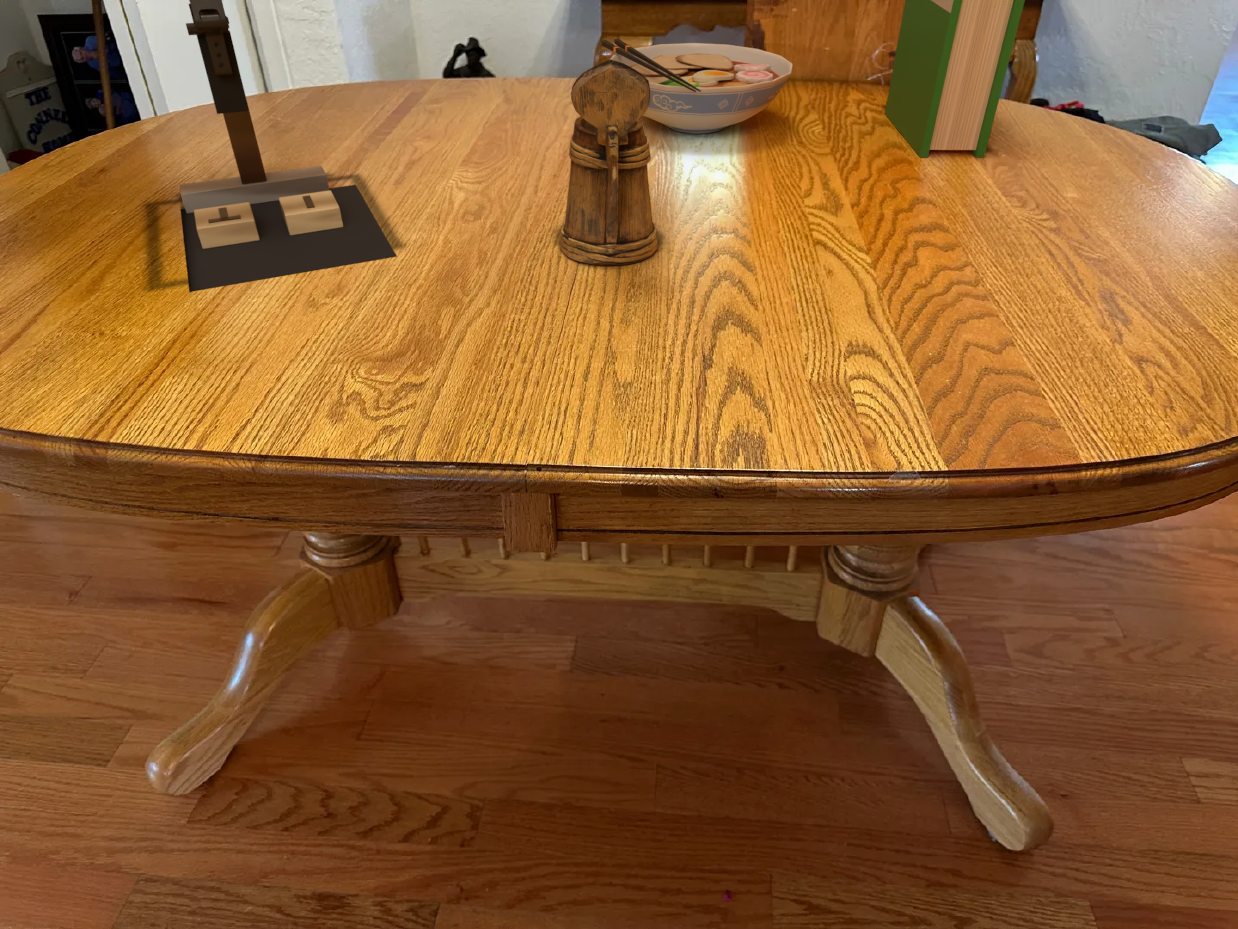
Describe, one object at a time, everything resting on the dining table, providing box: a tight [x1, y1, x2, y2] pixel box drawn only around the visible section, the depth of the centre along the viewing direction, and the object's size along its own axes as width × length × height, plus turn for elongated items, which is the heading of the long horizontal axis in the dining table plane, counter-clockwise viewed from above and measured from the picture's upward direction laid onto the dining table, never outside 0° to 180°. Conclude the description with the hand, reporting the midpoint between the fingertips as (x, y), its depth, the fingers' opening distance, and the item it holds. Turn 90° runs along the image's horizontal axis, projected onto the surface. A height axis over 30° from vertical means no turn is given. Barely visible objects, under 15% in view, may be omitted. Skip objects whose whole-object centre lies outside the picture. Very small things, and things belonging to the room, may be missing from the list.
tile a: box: [194, 202, 260, 249], centre depth 80 cm, size 5×5×2 cm
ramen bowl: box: [600, 38, 794, 135], centre depth 106 cm, size 25×23×8 cm
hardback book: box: [884, 0, 1026, 159], centre depth 98 cm, size 18×7×24 cm, turn 179°
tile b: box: [279, 190, 343, 235], centre depth 83 cm, size 5×5×2 cm
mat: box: [180, 184, 398, 293], centre depth 81 cm, size 20×20×1 cm
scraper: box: [179, 99, 330, 213], centre depth 85 cm, size 3×14×12 cm, turn 114°
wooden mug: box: [559, 58, 658, 267], centre depth 72 cm, size 9×14×18 cm, turn 2°
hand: (227, 92), depth 82 cm, fingers open, 13 cm apart
